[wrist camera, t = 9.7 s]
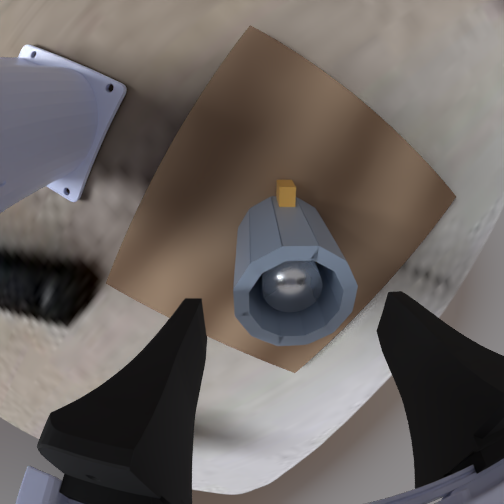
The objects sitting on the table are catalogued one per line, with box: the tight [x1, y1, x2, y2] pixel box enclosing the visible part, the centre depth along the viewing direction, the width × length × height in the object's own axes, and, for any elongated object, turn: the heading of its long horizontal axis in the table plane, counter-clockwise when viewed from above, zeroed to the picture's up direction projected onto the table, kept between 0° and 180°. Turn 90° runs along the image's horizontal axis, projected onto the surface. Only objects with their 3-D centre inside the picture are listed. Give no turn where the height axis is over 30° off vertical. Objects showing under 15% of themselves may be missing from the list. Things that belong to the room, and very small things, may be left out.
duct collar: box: [233, 180, 358, 346], centre depth 14 cm, size 5×6×6 cm
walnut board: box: [106, 26, 456, 373], centre depth 18 cm, size 16×18×1 cm
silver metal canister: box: [261, 260, 322, 312], centre depth 15 cm, size 3×3×5 cm
